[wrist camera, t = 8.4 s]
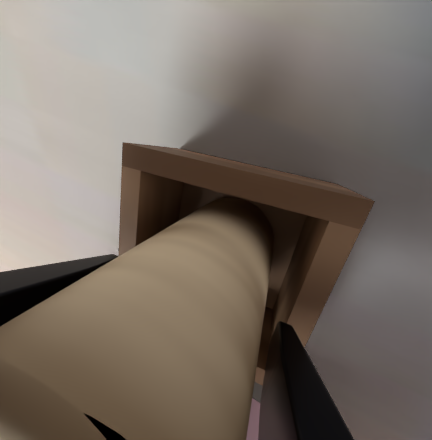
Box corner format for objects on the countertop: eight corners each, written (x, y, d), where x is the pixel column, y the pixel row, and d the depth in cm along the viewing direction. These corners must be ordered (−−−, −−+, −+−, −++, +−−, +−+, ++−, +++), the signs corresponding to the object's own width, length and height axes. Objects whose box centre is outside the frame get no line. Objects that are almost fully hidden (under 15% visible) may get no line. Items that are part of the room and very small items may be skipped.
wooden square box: (283, 319, 13) (281, 394, 9) (163, 271, 15) (116, 314, 11) (337, 184, 10) (374, 201, 6) (179, 148, 12) (122, 142, 8)
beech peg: (260, 288, 12) (188, 650, 3) (187, 260, 14) (-16, 472, 4) (286, 211, 11) (281, 537, 2) (198, 187, 12) (-97, 292, 3)
